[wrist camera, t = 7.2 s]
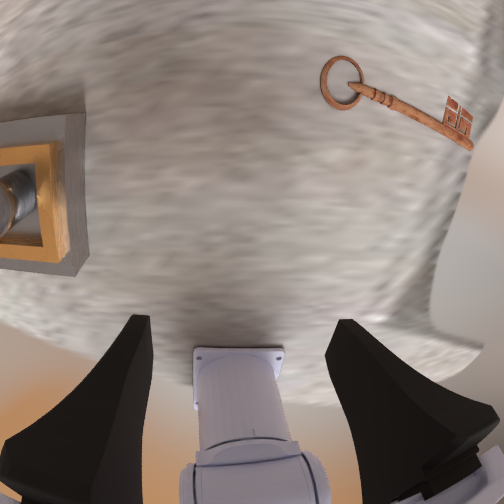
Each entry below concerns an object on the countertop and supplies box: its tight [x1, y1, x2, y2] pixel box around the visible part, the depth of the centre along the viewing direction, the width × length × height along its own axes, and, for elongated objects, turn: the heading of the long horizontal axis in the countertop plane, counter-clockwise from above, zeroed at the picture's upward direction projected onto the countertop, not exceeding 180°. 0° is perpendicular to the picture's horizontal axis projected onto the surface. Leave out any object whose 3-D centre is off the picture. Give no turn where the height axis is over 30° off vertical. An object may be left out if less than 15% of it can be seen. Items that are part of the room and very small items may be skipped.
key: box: [321, 56, 474, 151], centre depth 17 cm, size 6×1×15 cm
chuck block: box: [0, 113, 89, 277], centre depth 15 cm, size 10×8×4 cm
